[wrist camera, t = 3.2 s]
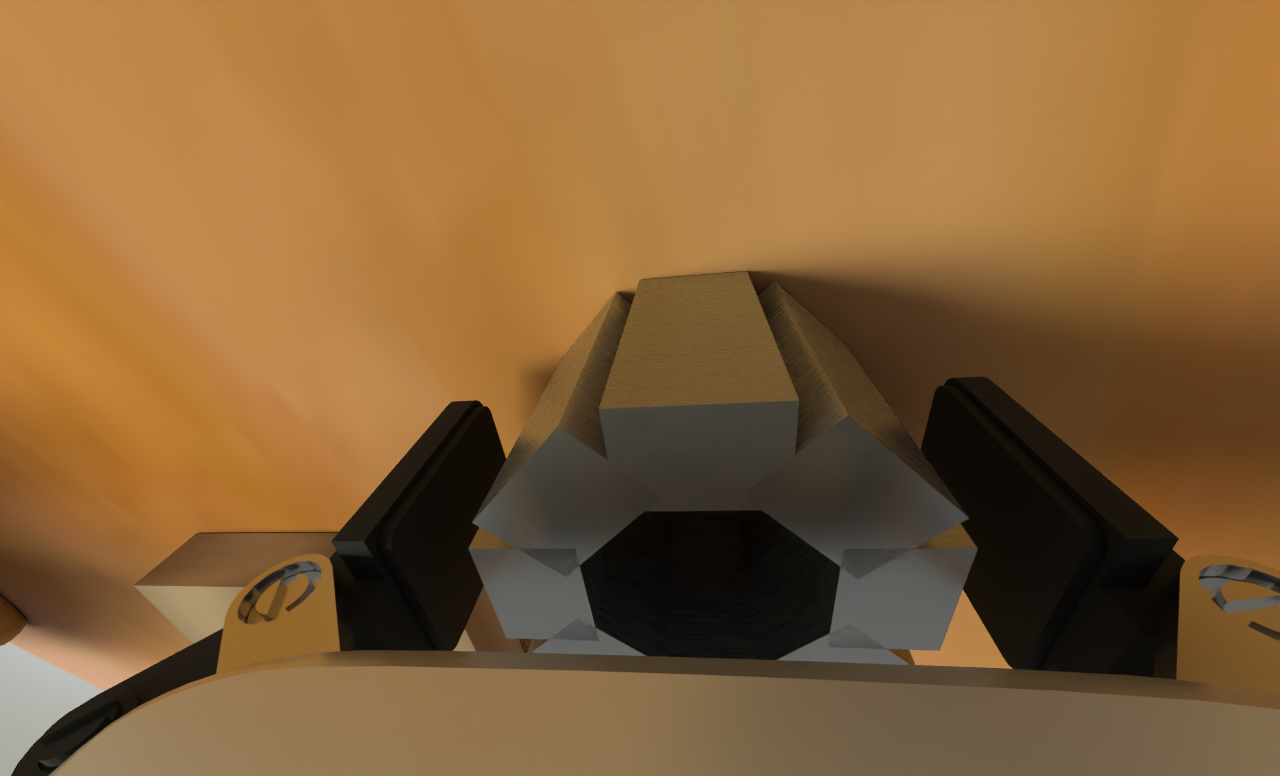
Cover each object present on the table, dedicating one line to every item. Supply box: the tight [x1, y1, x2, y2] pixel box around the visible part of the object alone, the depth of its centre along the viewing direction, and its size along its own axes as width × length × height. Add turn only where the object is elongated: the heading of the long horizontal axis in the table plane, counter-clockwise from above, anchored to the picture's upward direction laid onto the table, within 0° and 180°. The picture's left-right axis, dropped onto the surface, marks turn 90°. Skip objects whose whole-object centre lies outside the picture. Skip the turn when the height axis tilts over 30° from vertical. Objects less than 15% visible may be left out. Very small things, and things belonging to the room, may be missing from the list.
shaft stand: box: [134, 533, 525, 653], centre depth 14 cm, size 10×10×8 cm
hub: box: [468, 271, 978, 665], centre depth 9 cm, size 7×7×5 cm
